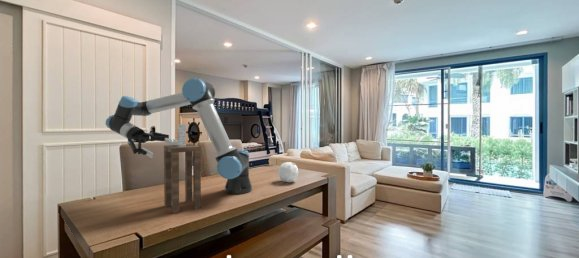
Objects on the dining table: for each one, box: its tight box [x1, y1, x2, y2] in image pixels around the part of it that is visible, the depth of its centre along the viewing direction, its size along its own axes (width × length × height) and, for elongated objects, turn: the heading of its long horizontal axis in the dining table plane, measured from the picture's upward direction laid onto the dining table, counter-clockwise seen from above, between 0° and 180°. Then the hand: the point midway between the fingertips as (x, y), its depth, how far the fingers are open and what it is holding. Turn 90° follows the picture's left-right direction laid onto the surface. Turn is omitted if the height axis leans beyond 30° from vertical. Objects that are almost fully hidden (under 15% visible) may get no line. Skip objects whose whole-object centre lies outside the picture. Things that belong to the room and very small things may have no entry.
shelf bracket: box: [172, 123, 187, 147], centre depth 120 cm, size 20×3×10 cm, turn 31°
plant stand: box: [163, 143, 202, 214], centre depth 115 cm, size 13×12×28 cm
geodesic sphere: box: [277, 161, 299, 184], centre depth 163 cm, size 14×14×14 cm
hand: (164, 150), depth 123 cm, fingers open, 13 cm apart
